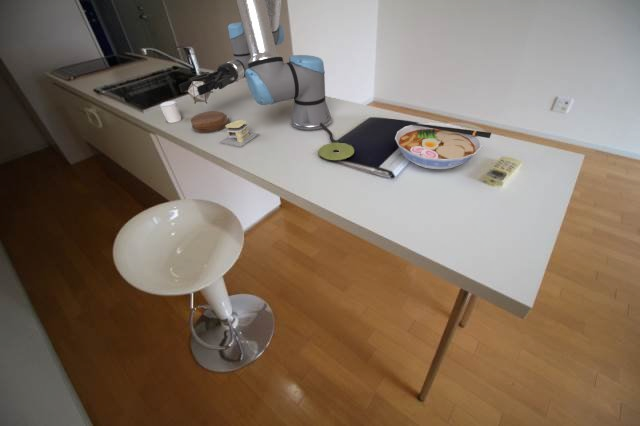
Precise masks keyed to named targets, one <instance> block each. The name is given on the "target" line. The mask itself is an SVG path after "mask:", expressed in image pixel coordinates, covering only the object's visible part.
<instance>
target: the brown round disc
mask: <svg viewBox="0 0 640 426" xmlns="http://www.w3.org/2000/svg"><path fill="white" fill-rule="evenodd" d="M190 124H191V127H192V130H193V131H194V132H196V133H198V134H210V133H215V132H219V131H221V130H223V129H226V125H227V124H230V121H229V117H228V115H227V114H226V113H224V112H223V111H219V110H211V111H204V112H200V113H198V114H195V115H194V116H192V117H191V119H190Z"/></svg>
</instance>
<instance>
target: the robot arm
mask: <svg viewBox="0 0 640 426" xmlns="http://www.w3.org/2000/svg"><path fill="white" fill-rule="evenodd" d="M235 3H236V6H237V10H238V13H239V18H240V22H231V23H229V25H228V26H227V29H228V30H227V31H228V38H229V41H230V44H231V50H232V54H233V59H231V60H229V61H227V62H225V63H222V64H220V65H219V66H218V67H217V70H215V71H212V72H209V71H206V72H204V73H201V74H198V75H195V76H192V77H188V80H187V81H185V82H182V83H180V84H178V88H179V91H180V93H182V94H184V93H186V92H185V91H186V90H187V91H188V89H189V87H190V85H191V83H192V81H191V79H192V80H193V81H203V80H205V81H204V83H205V84H203V85H201V86H198V87H197V90H198V93H199V95H203V94H205V93H207V92H209V91H214V90H217V89H218V90H222V89H224V88H226V87H227V86H230V85H232V84H234V83H238V82H239V80H242V79H246V83H247V86H248V89H249V92H250V94H251V96H252V97H253V99H254V101H255V102H256V103H257V104H258V105H260V106H267V105H274V104H278V103H283V102H287V101H291V100H293V102H294V104H293V109H292V114H291V119H290V120H291V125H292V127H293V128H294V129H297V130H301V131H317V130H322V129H324V130H325V131H326V133H328V135H329V140H330V142H331V143H339V142H338V141H339V140H336V139H334V137H333V136H334V135H333V133H332V132H331V130H330V129H329V128H328V127H329V125H331V123H332V115H331V113H330V109H329V108H328V104H327V101H326V82H325V81H326V80H325V78H326V77H325V72H326V71H325V65H324V61H323V59H322V58H321V57H319V56H317V55H316V56H315V55H309V54H294V55H290V56H289V59H288V61H287V62H285V61H284V58H283V55H282V54H280V53H278V51H277V48H276V46H279V45H281V44H283V42H284V40H285V36H284V35H285V33H284V29H283V27H282V25H281V24H280V17H281V7H282V0H235ZM347 143H348V142H347ZM347 143H345V144H347ZM353 144H354V143H353ZM353 144H348V145H351V146H352V147H353Z"/></svg>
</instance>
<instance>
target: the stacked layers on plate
mask: <svg viewBox="0 0 640 426" xmlns="http://www.w3.org/2000/svg"><path fill="white" fill-rule="evenodd" d="M246 123H248V121H247V120H243V119H238V120H235V121H232V122H229V124H227V125H226V127H225V129H226V132H227V133H228V134H227V138H226V139H225V140H223V141H221V142H220V143H222V144H225V145H231V146H235V147H239V148H241V147H242V146H244V145H246V144H247V143H249V142H250V141H252V140H253V139H254V138H256V137H257V136H258V134H255V133H251V132H250V129H249V128H248V127H249V124H246Z"/></svg>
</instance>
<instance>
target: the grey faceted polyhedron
mask: <svg viewBox="0 0 640 426" xmlns="http://www.w3.org/2000/svg"><path fill="white" fill-rule="evenodd" d="M191 81H192V83H191V85H190V87H189V89H188V91H187V90H186V91H185V92H184V93H187V94H189V96H190V97H191V98H192V99H193V101H194V103H193V104H196V103H205V104H208V99H209V97H210V95H211V93H212V94H213V93H214V90H211V91H209V92H207V93H205V94H203V95H199V93H198V90H197V87H198V86H201V85H203V84H205V83H204V81H205V80H203V81H193V80H192V79H191Z"/></svg>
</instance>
